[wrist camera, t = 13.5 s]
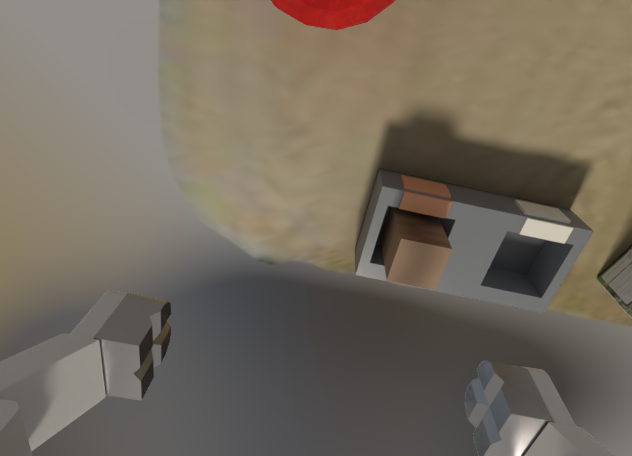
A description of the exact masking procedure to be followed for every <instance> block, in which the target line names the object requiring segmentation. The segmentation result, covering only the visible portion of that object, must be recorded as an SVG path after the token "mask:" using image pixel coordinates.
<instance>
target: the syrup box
mask: <svg viewBox="0 0 632 456" xmlns="http://www.w3.org/2000/svg"><path fill="white" fill-rule="evenodd" d="M597 280H598V282H599V283H600V284H601V285H602V286H603V287H604V288H605V289H606V290H607V292H608V293H609V294H610V295H611V296H612V297H613V298H614V300H615V301H616V302H617V303H618V304H619V305H620V306H621V307H622V308H623V310H624V311H625V312H626V313H627V314H628V315H629V316H630V317H631V319H632V246H631V247H630V248H629V249H628V250H627V251H626V252H625V253H624V254H623V255H622V256H621V257H620V258H619V259H618V260H616V261H615V262H614V263H613V264H612V265H611V266H610V267H609V268H608V269H607V270H606V271H605V272H604V273H602V274H601V275H600V276H599V277H598V278H597Z"/></svg>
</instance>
